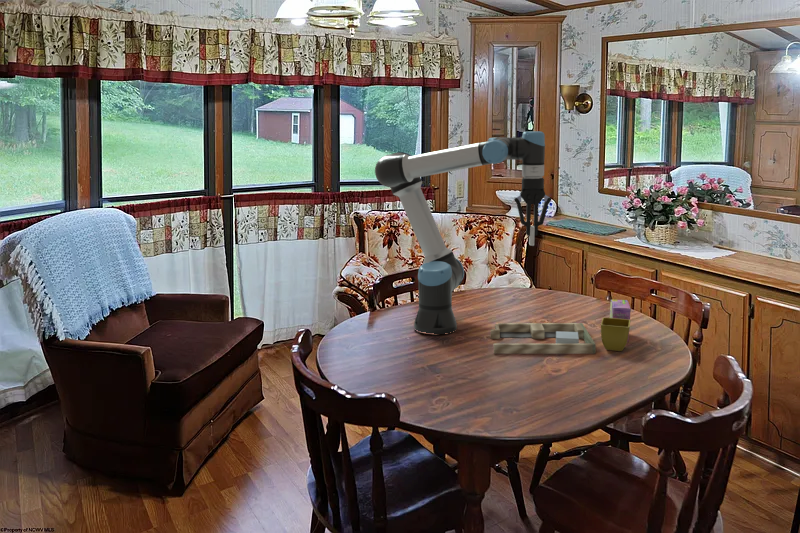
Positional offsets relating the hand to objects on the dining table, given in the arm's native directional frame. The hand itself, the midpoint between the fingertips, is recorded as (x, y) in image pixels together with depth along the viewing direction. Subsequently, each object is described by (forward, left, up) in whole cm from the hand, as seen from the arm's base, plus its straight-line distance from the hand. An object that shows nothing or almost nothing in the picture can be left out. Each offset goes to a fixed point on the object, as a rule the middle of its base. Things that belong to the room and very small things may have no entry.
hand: (531, 244), depth 258 cm
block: (+20, -14, -30) cm, 38 cm away
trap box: (+11, -15, -29) cm, 35 cm away
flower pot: (+34, -8, -30) cm, 46 cm away
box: (+31, +4, -30) cm, 43 cm away
